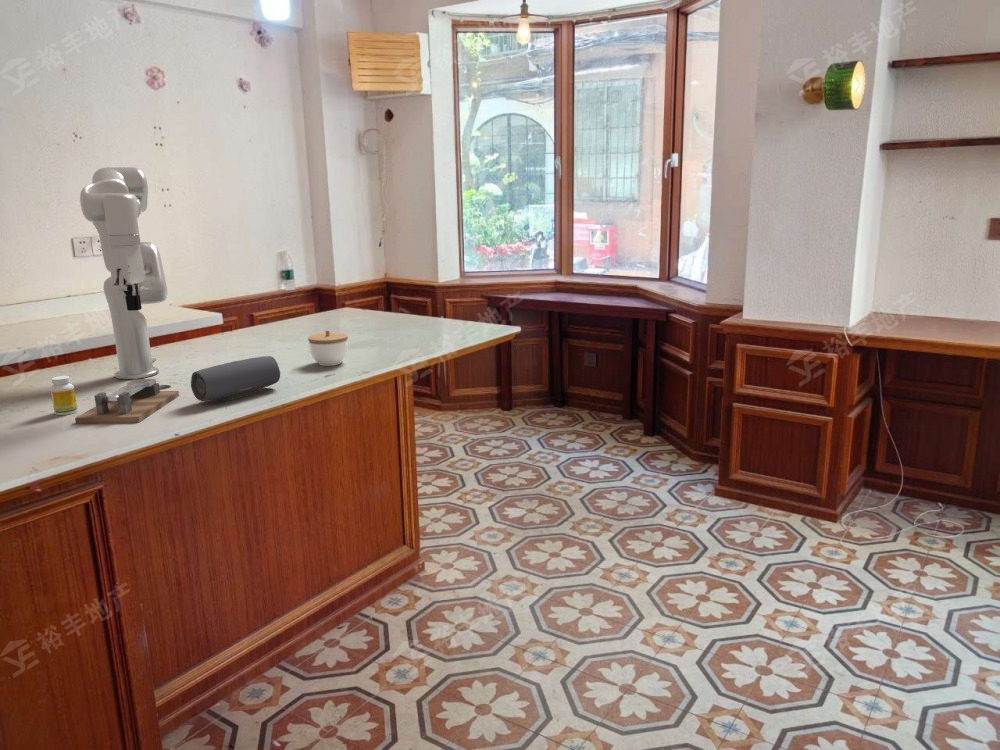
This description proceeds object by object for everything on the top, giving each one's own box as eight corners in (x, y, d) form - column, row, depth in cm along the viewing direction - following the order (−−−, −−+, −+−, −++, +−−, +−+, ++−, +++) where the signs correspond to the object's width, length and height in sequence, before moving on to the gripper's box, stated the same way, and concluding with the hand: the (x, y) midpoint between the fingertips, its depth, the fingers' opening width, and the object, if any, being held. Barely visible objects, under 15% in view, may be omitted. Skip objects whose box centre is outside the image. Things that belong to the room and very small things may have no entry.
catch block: (135, 393, 206) (133, 383, 206) (160, 392, 206) (158, 383, 206) (130, 396, 203) (128, 386, 203) (155, 395, 203) (154, 386, 203)
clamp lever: (134, 384, 205) (133, 378, 205) (156, 383, 205) (155, 378, 205) (99, 403, 187) (98, 397, 187) (123, 403, 187) (122, 396, 187)
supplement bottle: (51, 413, 194) (45, 377, 192) (74, 408, 198) (68, 373, 196) (58, 417, 191) (52, 381, 188) (81, 412, 195) (75, 377, 192)
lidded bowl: (340, 368, 236) (337, 334, 233) (303, 367, 238) (300, 334, 236) (355, 359, 248) (353, 327, 245) (320, 358, 250) (317, 326, 248)
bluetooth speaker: (264, 384, 218) (261, 352, 215) (282, 389, 212) (279, 356, 210) (191, 402, 201) (187, 367, 199) (209, 408, 195) (205, 372, 193)
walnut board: (122, 397, 208) (119, 374, 207) (179, 395, 208) (176, 373, 207) (75, 423, 185) (71, 398, 183) (139, 422, 185) (135, 397, 183)
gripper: (124, 239, 203) (133, 305, 207) (95, 244, 188) (106, 315, 193) (151, 239, 203) (160, 305, 207) (125, 243, 188) (135, 314, 193)
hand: (134, 309), depth 200 cm, fingers closed
